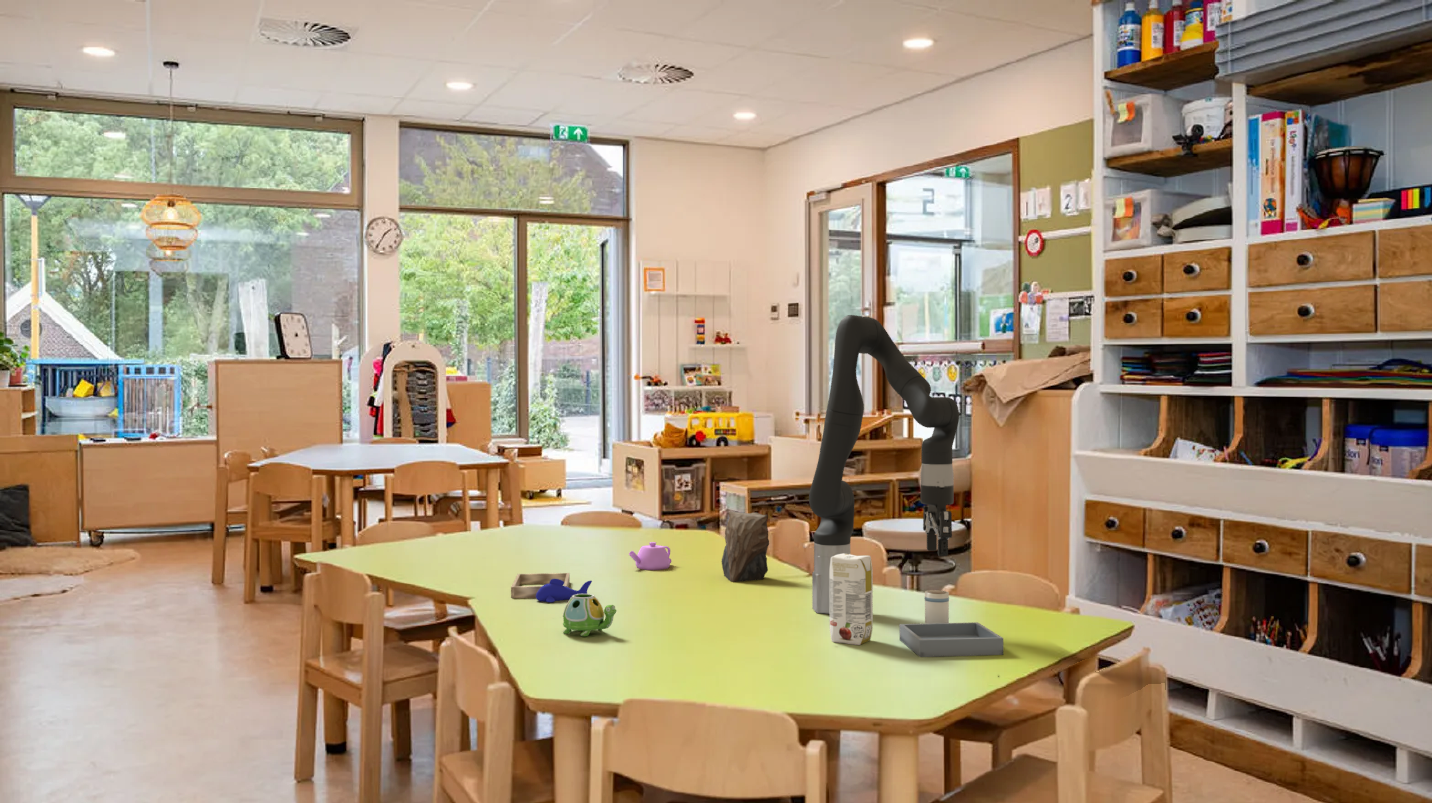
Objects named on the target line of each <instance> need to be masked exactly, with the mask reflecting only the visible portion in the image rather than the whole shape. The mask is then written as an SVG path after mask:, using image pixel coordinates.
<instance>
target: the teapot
mask: <svg viewBox="0 0 1432 803" xmlns="http://www.w3.org/2000/svg"><path fill="white" fill-rule="evenodd" d="M666 549H667V550H666ZM670 555H671V548H670V547H669V546H667V545H657V542H655V541H650V542H649V545H642V546H641V547H640V549H639V550H638V552H637V554H636V552H635V551H634V550H631V551H629V553H628V556H630V557H631V559H632V560H633V561H634V562H635V566H636V568H638V569H641V570H646V571H660V570H665V569H669V567H670V566H671V564H672V559H671V558H670Z"/></svg>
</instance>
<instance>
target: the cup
mask: <svg viewBox="0 0 1432 803" xmlns="http://www.w3.org/2000/svg"><path fill="white" fill-rule="evenodd" d="M949 594H950V592H949V591H946V590H939V589H931V590H925V591H924V624H929V623H950V620H949V618H950V615H949V614H950V613H949V612H950V611H949V609H950V597H949V596H950V595H949Z"/></svg>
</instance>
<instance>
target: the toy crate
mask: <svg viewBox="0 0 1432 803" xmlns="http://www.w3.org/2000/svg"><path fill="white" fill-rule="evenodd" d="M551 579H559V580H562V581H564V585H563V586H566V587H568V588H570V586H569V585H570V584H571V583H570V572H556V573H555V572H549V573H548V572H546V573H517V575H516V576H515V578H514V581H513V583H512V584H511V586H510V598H511V599H513V598H514V599H517V598H520V599H521V598H522V599H523V598H524V599H526V598H535V599H536V593H537V592H538V590H539V589H540V588H541V587H542V586H543V585H545V584H549V583H550V581H551ZM530 584H533V585H532V586H531V585H530ZM534 584H535V585H534ZM537 584H543V585H537ZM521 585H525V586H521ZM527 585H529V586H527ZM536 585H537V586H536Z"/></svg>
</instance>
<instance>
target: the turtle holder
mask: <svg viewBox="0 0 1432 803" xmlns="http://www.w3.org/2000/svg"><path fill="white" fill-rule="evenodd" d="M616 612H617V609H616V606H615V605H614V604H608V605H605V606H604V609H603V606H602V603H601V602H600V600H599V599H598V598H597V597H596V596H595V595H594V594H591V593H590V594H589V593H587V594H576V595H573V596H572V597H571V598H570V599H568V602H566V604H565V607H564V609H563V613H562V617H563V618H562V620H563V623H562V626H563V627H564V628H565V629H564V630H563V631H562V634H565V635H566V634H567V635H569V634H571V632H572V631H582V632H581V633H580V634H579V635H580V636H581V637H589V635H590V633H591V631H595V630H597V631H599V632H600V631H603V630H606V629H608V628H610V627H611V625H612V623H613V621H614V616H615V614H616Z"/></svg>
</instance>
